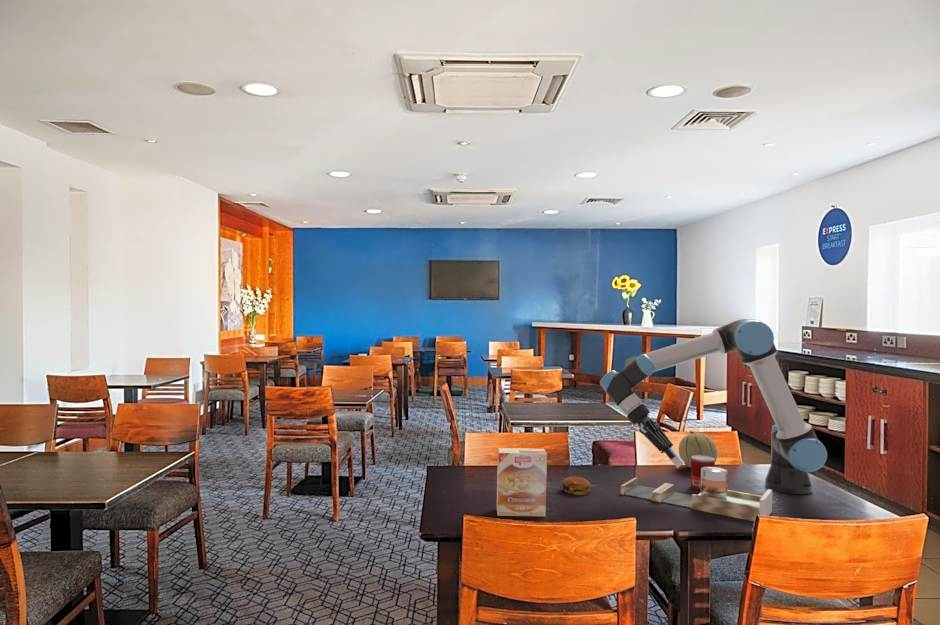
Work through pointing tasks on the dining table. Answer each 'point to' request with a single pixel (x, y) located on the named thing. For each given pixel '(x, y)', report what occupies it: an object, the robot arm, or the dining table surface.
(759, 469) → the dining table surface
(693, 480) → the canned food
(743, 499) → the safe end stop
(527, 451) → the coffeecake box
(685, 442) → the cantaloupe
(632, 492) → the tray
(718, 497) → the tin
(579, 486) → the burger
